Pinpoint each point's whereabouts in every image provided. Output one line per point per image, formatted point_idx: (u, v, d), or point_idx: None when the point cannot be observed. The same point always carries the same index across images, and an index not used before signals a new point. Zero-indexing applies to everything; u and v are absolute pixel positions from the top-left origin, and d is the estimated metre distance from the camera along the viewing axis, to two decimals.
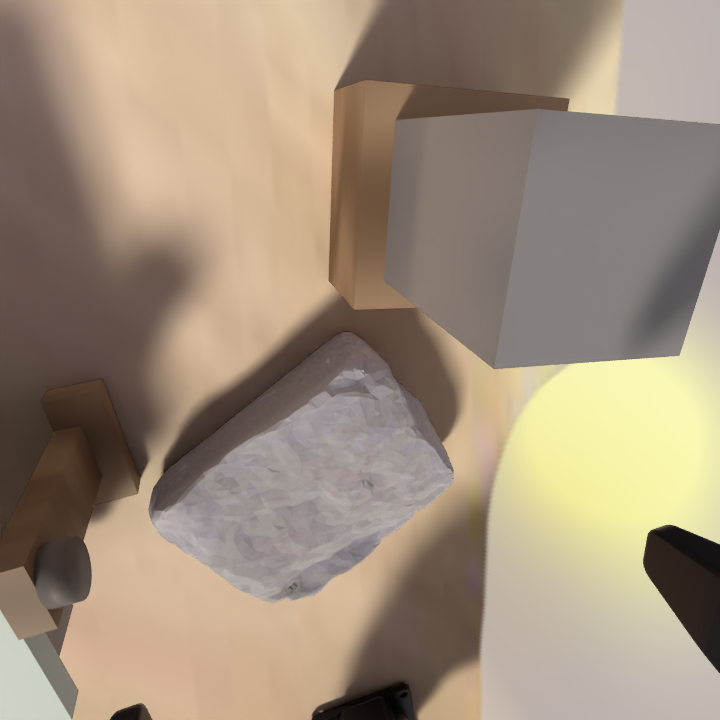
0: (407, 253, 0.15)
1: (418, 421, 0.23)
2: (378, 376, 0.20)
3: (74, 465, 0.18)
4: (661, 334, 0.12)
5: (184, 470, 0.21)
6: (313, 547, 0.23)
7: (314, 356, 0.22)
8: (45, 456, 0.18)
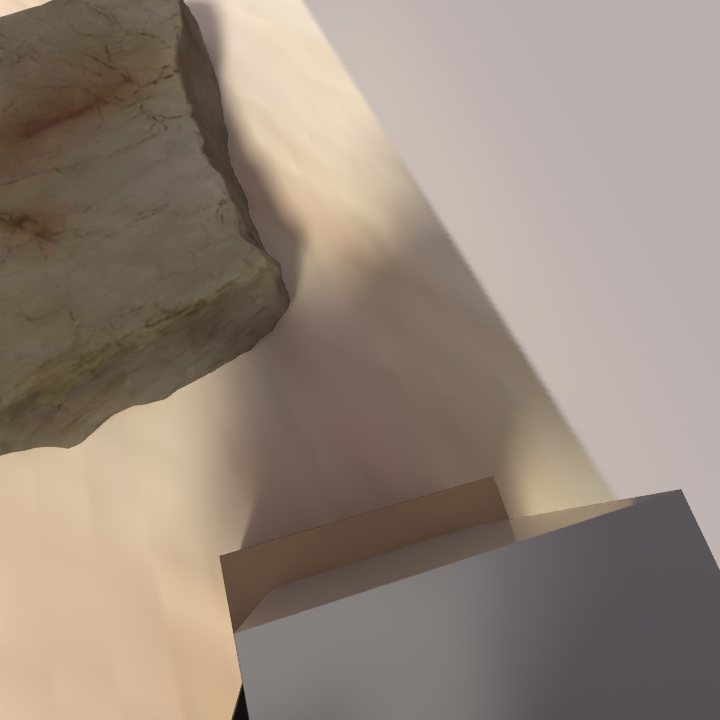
0: None
1: None
2: None
3: None
4: None
5: None
6: None
7: None
8: None
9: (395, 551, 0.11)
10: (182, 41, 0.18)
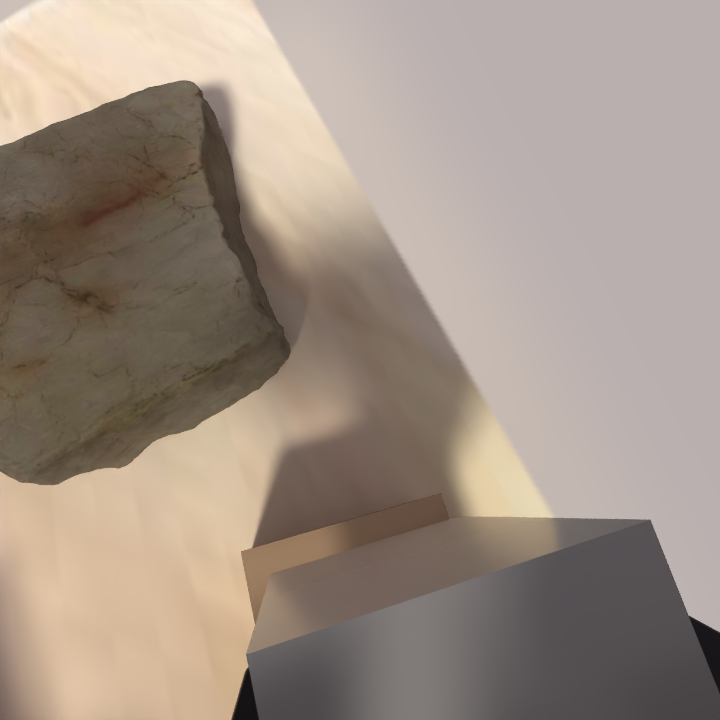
0: None
1: None
2: None
3: None
4: None
5: None
6: None
7: None
8: None
9: (387, 542, 0.12)
10: (204, 140, 0.23)
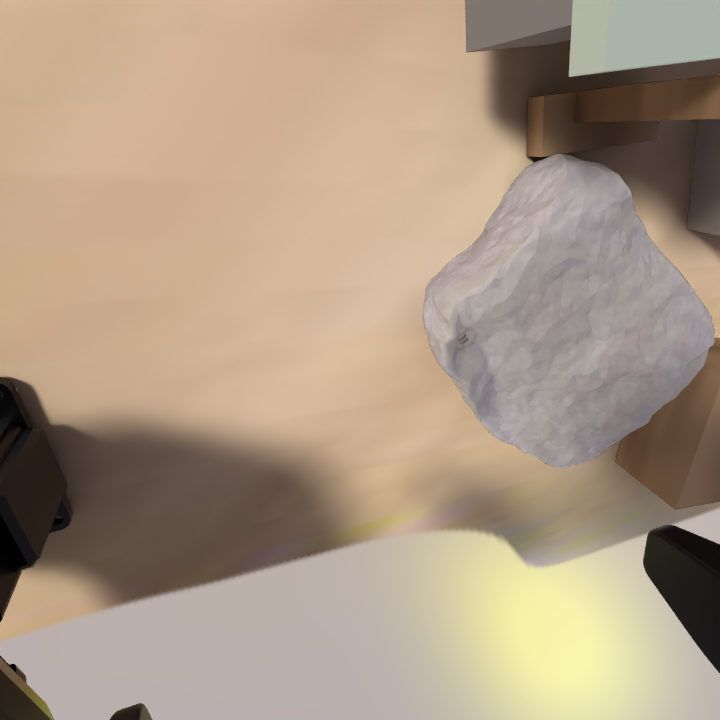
0: None
1: None
2: None
3: None
4: None
5: None
6: (532, 349, 0.20)
7: None
8: None
9: None
10: None
